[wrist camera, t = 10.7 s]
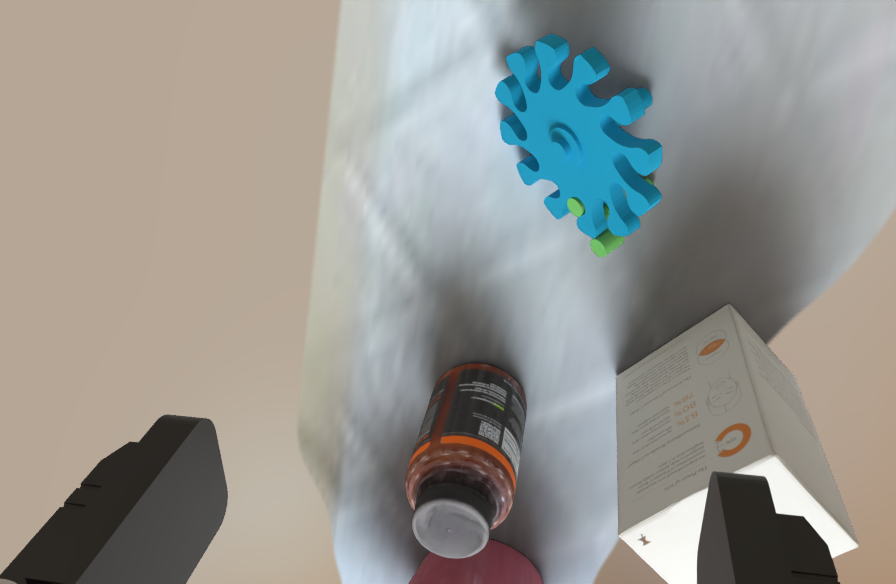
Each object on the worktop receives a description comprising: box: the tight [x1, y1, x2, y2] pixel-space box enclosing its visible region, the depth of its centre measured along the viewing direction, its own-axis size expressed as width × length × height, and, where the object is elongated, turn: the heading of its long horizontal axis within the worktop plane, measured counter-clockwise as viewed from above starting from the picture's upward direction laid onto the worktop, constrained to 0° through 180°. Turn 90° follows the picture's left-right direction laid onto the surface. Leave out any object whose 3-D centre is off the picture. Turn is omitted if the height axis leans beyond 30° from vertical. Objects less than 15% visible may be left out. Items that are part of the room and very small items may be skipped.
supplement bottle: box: [405, 363, 527, 558], centre depth 44 cm, size 6×6×11 cm
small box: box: [616, 304, 859, 584], centre depth 39 cm, size 8×6×13 cm
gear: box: [495, 34, 662, 257], centre depth 37 cm, size 11×6×10 cm
